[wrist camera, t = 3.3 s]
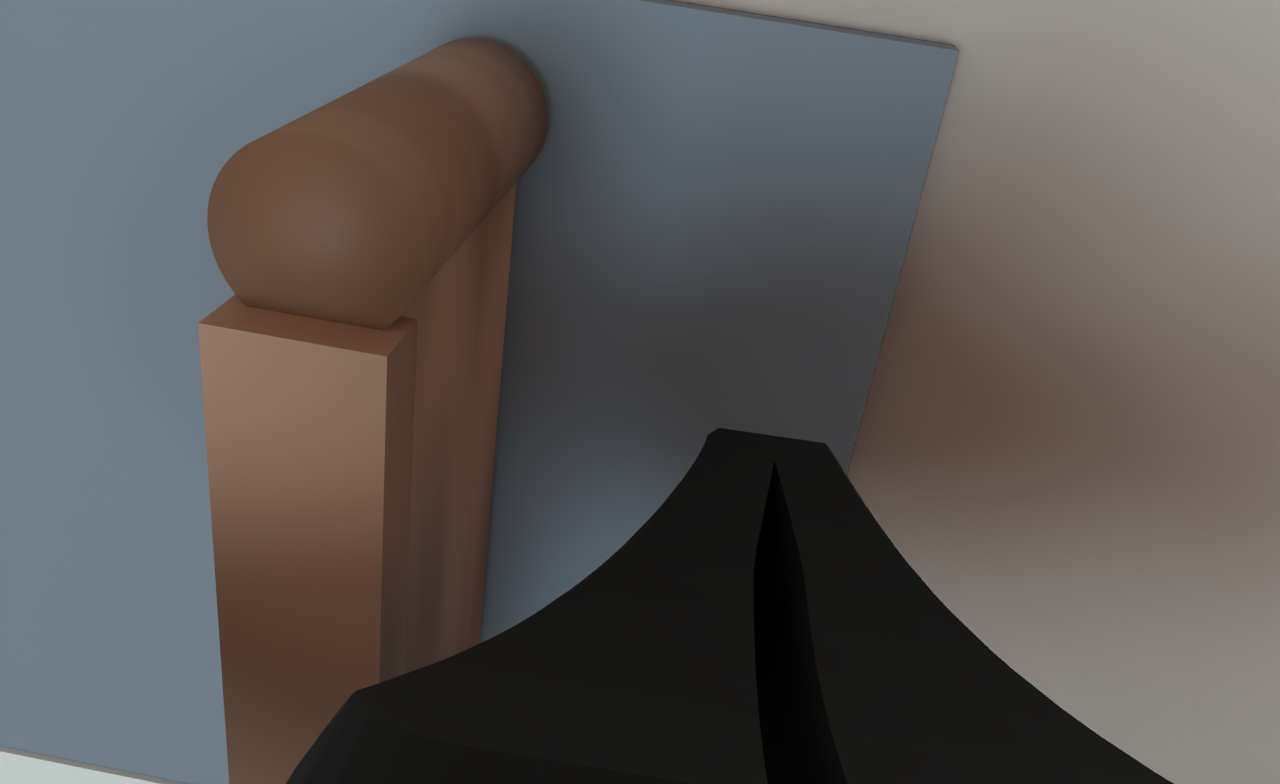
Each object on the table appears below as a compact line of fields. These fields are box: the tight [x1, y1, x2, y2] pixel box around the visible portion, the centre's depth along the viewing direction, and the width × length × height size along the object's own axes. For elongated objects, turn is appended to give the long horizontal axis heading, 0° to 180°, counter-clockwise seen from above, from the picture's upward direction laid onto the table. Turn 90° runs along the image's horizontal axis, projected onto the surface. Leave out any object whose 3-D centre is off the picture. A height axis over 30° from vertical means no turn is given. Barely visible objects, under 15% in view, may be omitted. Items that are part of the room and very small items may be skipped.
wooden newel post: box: [198, 38, 548, 784], centre depth 12 cm, size 12×2×5 cm, turn 172°
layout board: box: [0, 0, 959, 784], centre depth 18 cm, size 20×26×1 cm
